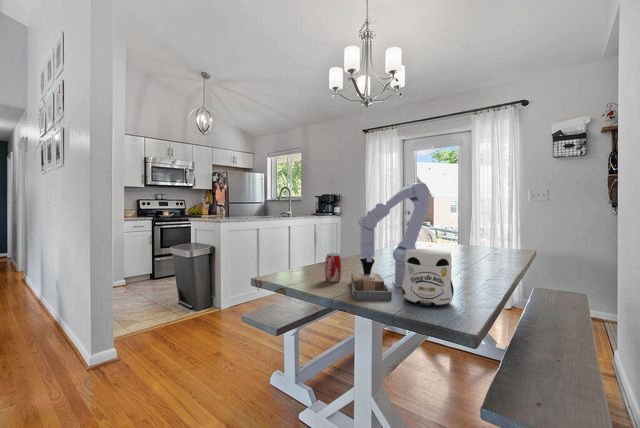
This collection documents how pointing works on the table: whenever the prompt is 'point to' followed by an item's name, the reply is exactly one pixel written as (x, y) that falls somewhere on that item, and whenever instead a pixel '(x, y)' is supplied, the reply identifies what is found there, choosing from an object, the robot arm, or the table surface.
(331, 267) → the soda can
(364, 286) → the terracotta tile
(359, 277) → the brown block
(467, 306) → the table surface
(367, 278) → the cream tile
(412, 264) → the milk container
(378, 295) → the tray
